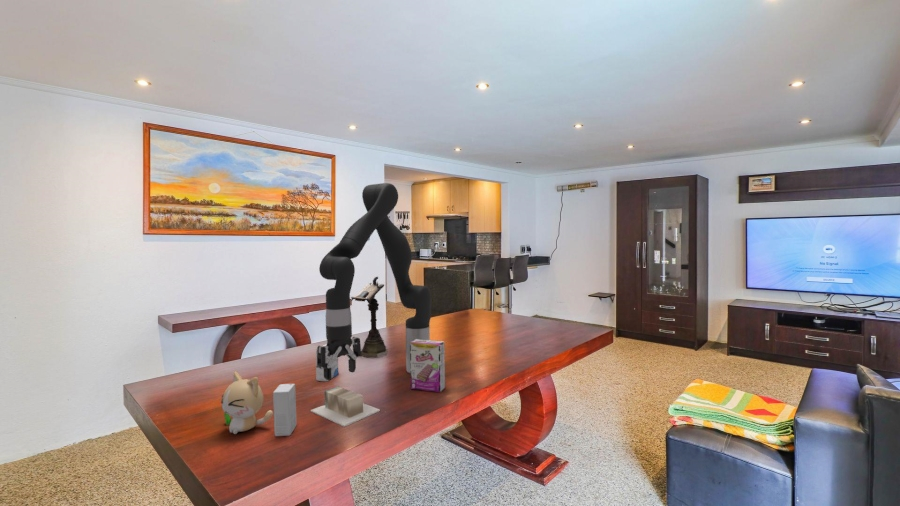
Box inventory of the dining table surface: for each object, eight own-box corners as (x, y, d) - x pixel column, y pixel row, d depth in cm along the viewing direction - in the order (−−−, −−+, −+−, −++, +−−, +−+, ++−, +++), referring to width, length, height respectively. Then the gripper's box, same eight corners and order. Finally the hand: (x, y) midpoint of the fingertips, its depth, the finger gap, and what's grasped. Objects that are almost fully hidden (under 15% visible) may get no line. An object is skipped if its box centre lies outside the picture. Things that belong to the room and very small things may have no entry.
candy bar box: (410, 389, 141) (409, 342, 140) (415, 384, 146) (415, 338, 145) (440, 393, 137) (440, 344, 137) (445, 388, 142) (445, 340, 142)
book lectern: (364, 362, 172) (362, 278, 170) (346, 357, 180) (344, 277, 179) (395, 353, 184) (393, 275, 183) (376, 348, 193) (375, 274, 191)
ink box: (327, 373, 159) (326, 343, 159) (339, 373, 158) (338, 343, 158) (315, 380, 151) (314, 349, 150) (328, 381, 150) (327, 349, 149)
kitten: (209, 429, 113) (207, 375, 113) (243, 416, 122) (242, 365, 121) (241, 443, 106) (239, 385, 105) (275, 427, 114) (274, 374, 113)
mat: (310, 411, 124) (310, 410, 124) (346, 398, 134) (346, 396, 134) (344, 426, 114) (344, 425, 114) (380, 411, 124) (380, 409, 124)
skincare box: (281, 426, 115) (279, 383, 114) (296, 425, 115) (295, 383, 115) (273, 436, 109) (272, 392, 108) (290, 435, 109) (289, 391, 109)
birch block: (324, 391, 126) (348, 400, 119) (338, 386, 130) (362, 395, 122) (325, 407, 126) (349, 417, 119) (339, 402, 130) (363, 412, 123)
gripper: (325, 328, 117) (327, 385, 117) (365, 320, 128) (366, 371, 128) (310, 325, 121) (312, 379, 122) (350, 317, 132) (351, 367, 133)
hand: (340, 375), depth 125 cm, fingers open, 8 cm apart
